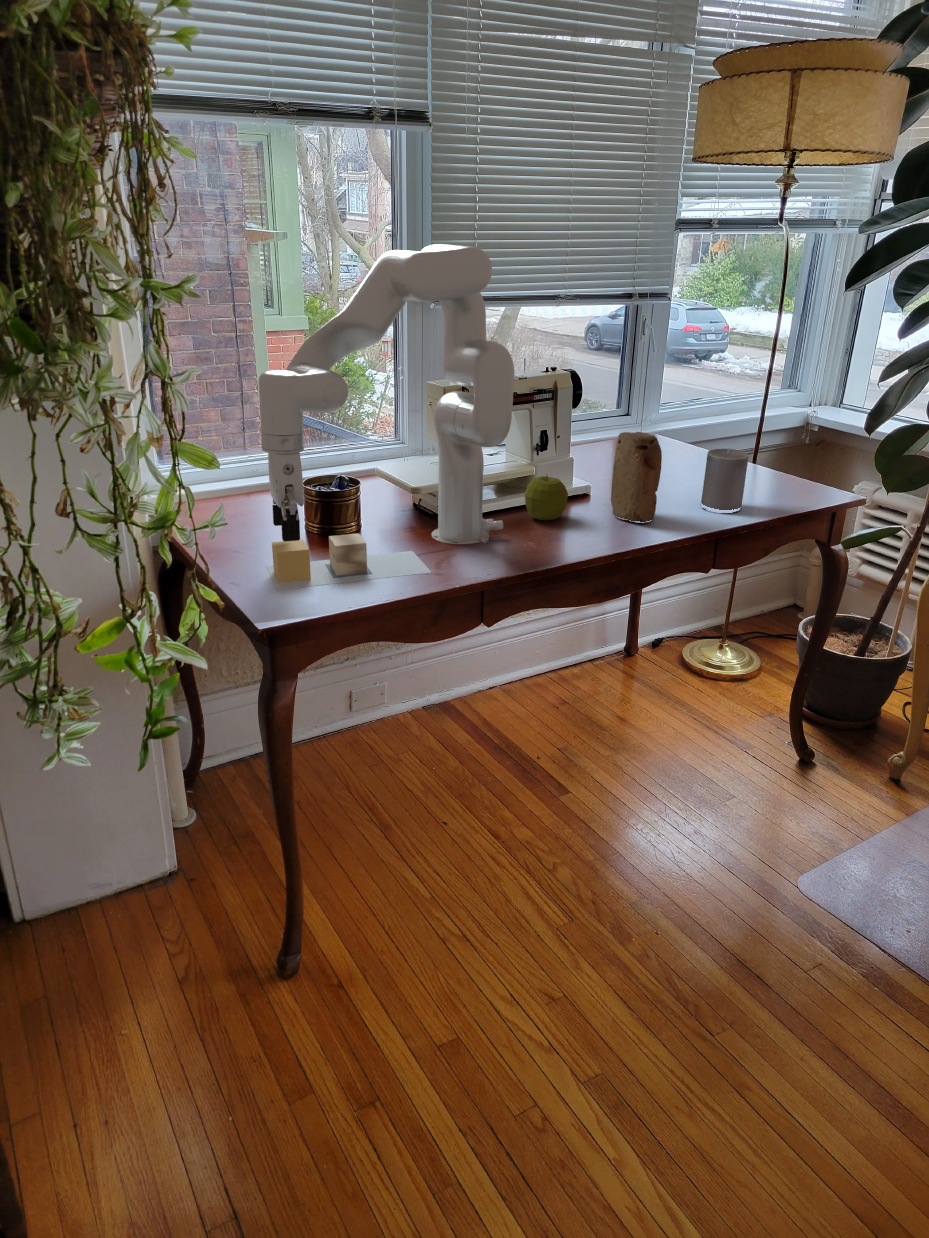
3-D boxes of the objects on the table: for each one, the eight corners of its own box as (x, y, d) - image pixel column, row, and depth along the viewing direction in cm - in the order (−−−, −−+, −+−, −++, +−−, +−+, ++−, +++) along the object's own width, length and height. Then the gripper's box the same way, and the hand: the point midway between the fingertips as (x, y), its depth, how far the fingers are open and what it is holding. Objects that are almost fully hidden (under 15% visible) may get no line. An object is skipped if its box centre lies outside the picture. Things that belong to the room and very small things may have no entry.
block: (606, 514, 220) (613, 431, 212) (631, 510, 223) (639, 428, 215) (634, 527, 211) (642, 440, 203) (660, 523, 214) (669, 437, 206)
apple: (529, 526, 211) (531, 479, 206) (519, 513, 219) (521, 468, 215) (571, 524, 212) (574, 478, 208) (559, 512, 221) (562, 467, 216)
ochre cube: (304, 568, 180) (303, 539, 178) (310, 579, 175) (309, 549, 173) (273, 571, 178) (271, 542, 176) (279, 582, 173) (277, 552, 171)
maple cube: (359, 562, 184) (358, 533, 181) (367, 572, 179) (366, 543, 176) (330, 565, 182) (328, 536, 179) (336, 575, 177) (335, 546, 174)
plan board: (412, 556, 191) (412, 550, 191) (431, 578, 180) (431, 571, 179) (266, 571, 182) (265, 565, 181) (277, 596, 170) (276, 589, 170)
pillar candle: (699, 501, 231) (706, 442, 225) (739, 503, 230) (747, 444, 223) (702, 513, 222) (709, 452, 216) (743, 515, 221) (752, 454, 215)
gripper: (313, 451, 160) (315, 545, 167) (294, 431, 175) (297, 518, 181) (269, 453, 157) (273, 548, 164) (254, 432, 172) (259, 520, 179)
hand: (286, 532), depth 173 cm, fingers open, 9 cm apart
